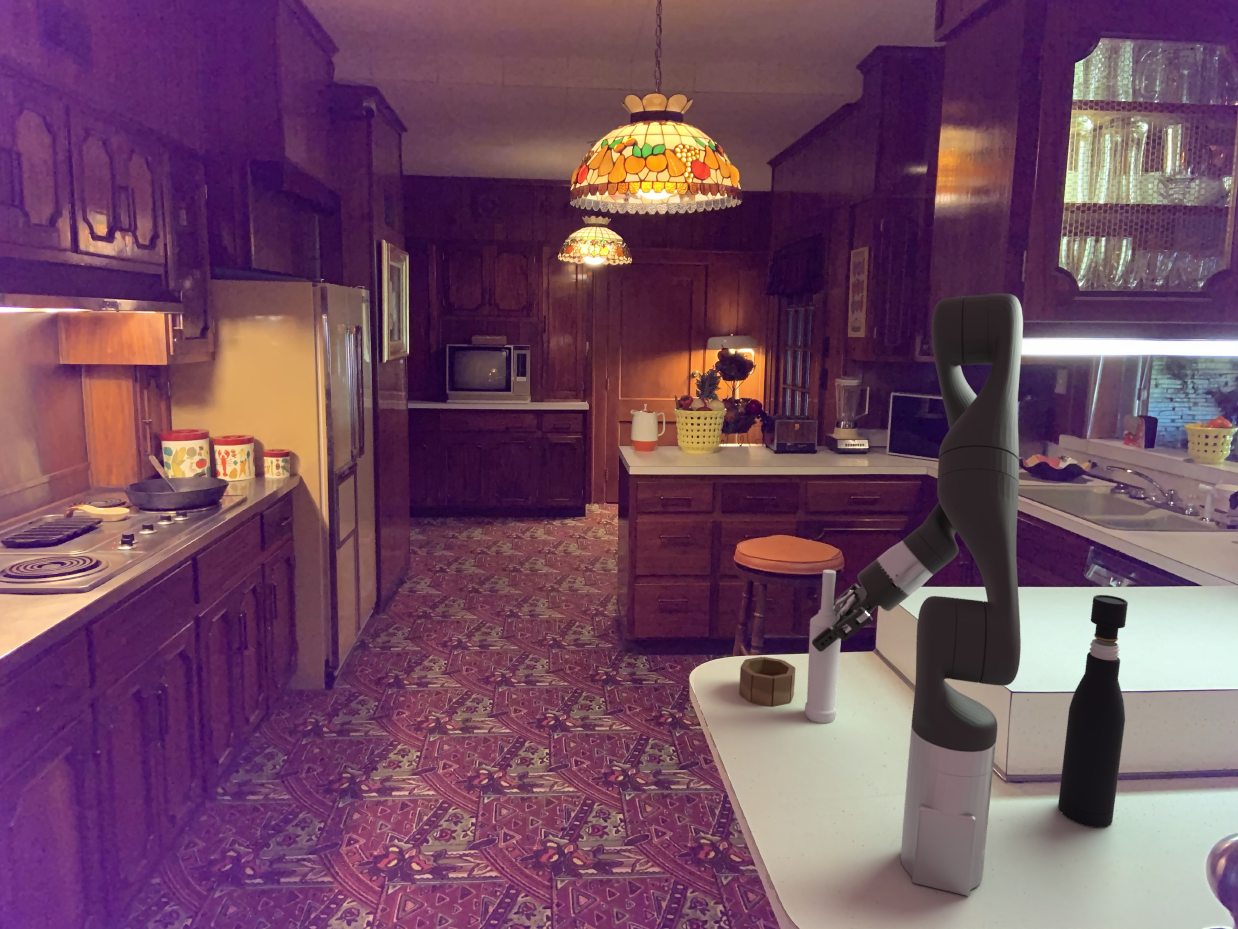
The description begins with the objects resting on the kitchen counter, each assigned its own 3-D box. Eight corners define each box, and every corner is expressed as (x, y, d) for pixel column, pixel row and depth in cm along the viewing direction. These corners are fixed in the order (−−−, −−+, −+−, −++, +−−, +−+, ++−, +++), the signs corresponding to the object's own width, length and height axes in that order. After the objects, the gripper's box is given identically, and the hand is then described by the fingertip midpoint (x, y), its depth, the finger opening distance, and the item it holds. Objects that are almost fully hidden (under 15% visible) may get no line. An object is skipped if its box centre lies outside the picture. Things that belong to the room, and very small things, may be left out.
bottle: (833, 710, 142) (843, 567, 138) (838, 724, 137) (848, 576, 133) (802, 708, 142) (811, 566, 138) (806, 722, 137) (815, 575, 133)
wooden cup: (787, 709, 142) (789, 681, 141) (735, 700, 145) (736, 672, 144) (796, 688, 150) (798, 662, 149) (747, 680, 153) (748, 654, 152)
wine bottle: (1047, 806, 114) (1071, 594, 109) (1079, 796, 117) (1103, 589, 112) (1090, 832, 108) (1117, 609, 103) (1123, 821, 111) (1151, 603, 106)
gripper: (874, 547, 141) (798, 608, 145) (883, 570, 127) (799, 637, 131) (904, 580, 140) (828, 640, 144) (917, 607, 126) (832, 673, 131)
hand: (815, 639), depth 138 cm, fingers open, 6 cm apart
